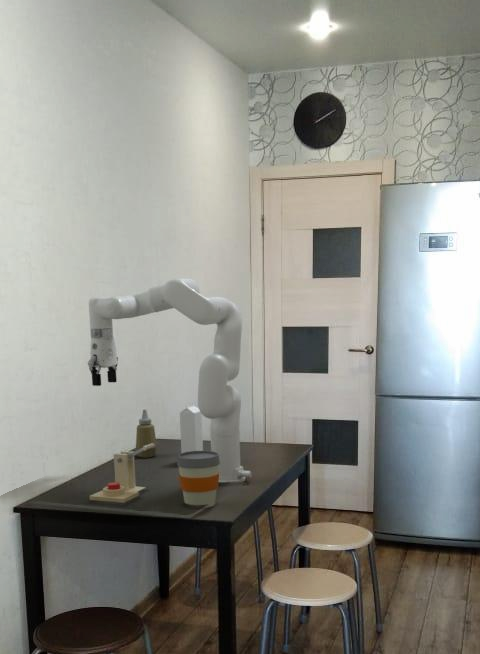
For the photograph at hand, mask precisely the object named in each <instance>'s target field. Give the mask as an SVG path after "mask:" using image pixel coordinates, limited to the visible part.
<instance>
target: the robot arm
mask: <svg viewBox="0 0 480 654" xmlns="http://www.w3.org/2000/svg"><path fill="white" fill-rule="evenodd" d="M171 309H174V310H176V311H177V312H179V313H180V314H182V315H183V316H185V317H186V318H188V319H190V320H191V321H193V322H194V323H196V324H198V325H201V326H208V325H215V324H216V328H217V329H216V330H215V334H214V340H213V345H214V346H213V353H212V354H209V355H208V356H206V357H205V358H204V359H203V360H202V361H201V364H200V367H199V369H198V370H199V371H198V382H197V383H198V384H197V408H198V409H199V410H200V412H201V413H202V417H205V418H207V419H209V420H210V430H209V431H210V451H213V452H217V453H218V454H219V460H220V464H219V467H218V472H219V482H218V483H234V482H237V483H244V482H245V481H246V478H249V479H251V478H252V475H253V473H252V471H251V470H245V469H244V466H243V465H241V439H240V435H241V433H240V432H241V431H240V421H241V420H240V419H241V408H242V398H241V394H240V392H239V391H238V389H237V388H235V387H234V386H233V385H229V384H228V382H231V381H233V380H235V379H236V378H237V377H238V375H239V373H240V364H241V349H242V347H241V344H242V331H243V317H242V314H241V311H240V309H239V307H238V306H237V305H236V304H235V303H234V302H233V301H231V300H230V299H228V298H226V297H223V296H206V297H205V296H204V295H202V294H201V288H200V286H199V284H198V282H197V281H196V280H194V279H192V278H187V277H180V278H179V277H178V278H176V277H175V278H171V279H169V280H168V281H167V282H164V283H160V284H155V285H152V286H150V287H149V289H148V290H146V291H143V292H139V293H134V294H130V295H116V296H109V297H106V296H99V297H98V296H97V297H91V298H90V299H89V300H88V313H89V329H90V330H89V331H90V350H89V351H90V352H89V353H90V359H89V360H88V361H87V365H88V369H89V371H90V374H91V381H92V382H91V385H92V386H93V387H101V386H102V376H101V375H102V374H101V370H102V369H105V368H107V370H106V371H107V372H106V373H107V382H108V383H117V370H118V365H119V364H118V363H119V362H118V361H119V356H118V355H117V346H116V341H115V337H114V328H113V327H114V326H113V320H123V319H131V318H137V317H141V316H147V315H150V314H153V313H159V312H163V311H168V310H171Z"/></svg>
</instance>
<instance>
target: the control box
mask: <svg viewBox="0 0 480 654" xmlns="http://www.w3.org/2000/svg"><path fill="white" fill-rule="evenodd" d="M139 496H140V491H138V492H135V491H125V487H124V486H120V489H116V490H109V489H108V486H104V487H103V488H102V490H100V491H97V492H96V493H93V494H91V495H89V501H99V502H108V503H109V502H110V503H120V504H122V503H123V504H124V503H126V502H127V503H128V502H129V501H131V500H133V499H135V498H138V497H139Z"/></svg>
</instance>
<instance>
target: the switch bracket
mask: <svg viewBox="0 0 480 654" xmlns="http://www.w3.org/2000/svg"><path fill="white" fill-rule="evenodd" d="M133 452H134V451H126V450H120V452H119V453H113V466H114V467H113V468H114V469H113V470H114V482H118V483H120V486H124V487H125V491H135V492H140V491H142V490H145V489H147V487H146V486H137V485H136V484H137V481H136V465H135V464H136V463H135V455H134V456H132V457H130V459H131V460H129V461H128V456H127V454H126V453H128V455H129V454H131V453H133Z"/></svg>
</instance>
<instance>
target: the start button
mask: <svg viewBox="0 0 480 654" xmlns="http://www.w3.org/2000/svg"><path fill="white" fill-rule="evenodd" d="M107 487H108V489H109V490H116V489H120V483H118V482H115V481H114V482H113V481H112V482H108V483H107Z"/></svg>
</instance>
